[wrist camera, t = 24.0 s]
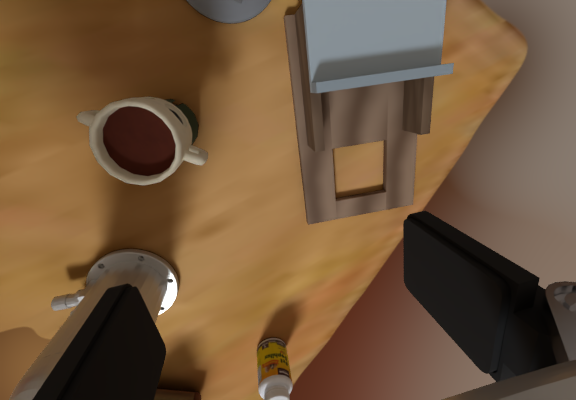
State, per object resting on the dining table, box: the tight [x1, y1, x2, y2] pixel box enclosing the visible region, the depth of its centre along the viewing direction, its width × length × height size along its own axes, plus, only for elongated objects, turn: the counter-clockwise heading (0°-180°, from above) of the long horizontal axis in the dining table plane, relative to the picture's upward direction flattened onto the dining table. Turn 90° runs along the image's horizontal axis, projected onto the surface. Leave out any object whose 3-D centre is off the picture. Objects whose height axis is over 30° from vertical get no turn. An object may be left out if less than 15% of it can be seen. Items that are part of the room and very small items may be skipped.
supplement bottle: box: [257, 338, 292, 400], centre depth 46 cm, size 6×6×10 cm
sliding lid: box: [302, 0, 454, 93], centre depth 27 cm, size 15×9×3 cm, turn 97°
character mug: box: [77, 97, 208, 186], centre depth 28 cm, size 11×7×13 cm, turn 66°
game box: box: [284, 4, 434, 224], centre depth 35 cm, size 17×27×5 cm, turn 7°
